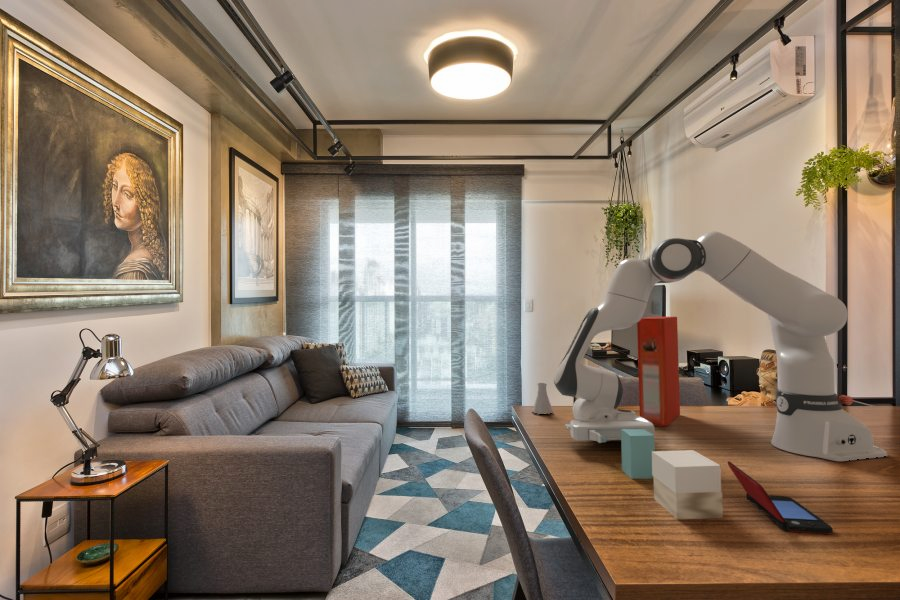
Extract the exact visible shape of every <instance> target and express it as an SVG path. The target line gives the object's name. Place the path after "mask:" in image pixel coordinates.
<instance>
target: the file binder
mask: <svg viewBox="0 0 900 600" xmlns="http://www.w3.org/2000/svg"><path fill="white" fill-rule="evenodd" d="M636 333H637V334H636V335H637V339H636V340H637V366H638V367H637V368H638V399H639V403H638V404H639V416H641V417H643V418H645V419H646V420H648V421H650V422H651V423H652V424H653V425H654V426H658V427H666V428H667V427H668V426H669V425H670V424H672V423H673V422H674V421H675V420H676V419H677V418H678V417H679V416H680V415H681V405H680V404H681V399H680V370H679V369H680V368H679V367H680V364H679V361H680V360H679V333H678V316H649V317H642V319H641V320H640V321H639V322H638V323H637V324H636Z"/></svg>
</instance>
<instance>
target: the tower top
mask: <svg viewBox="0 0 900 600" xmlns="http://www.w3.org/2000/svg"><path fill="white" fill-rule="evenodd" d="M721 468H722V467H721V464H718V463H717V462H716V461H713V460H711V459H710V458H708V457H706V456H705V455H703V454H701V453H699V452H697V451H695V450H693V449H688V450H687V449H686V450H660V451H659V450H657V451H655V450H654V451H652V476H654V477H655V478H656V479H658V480H659V481H660V482H662V483H663V484H664V485H665V486H667V487H668V488H669V489H671V490H672V491H673V492H674V493H702V492H722V471H721V470H722V469H721Z"/></svg>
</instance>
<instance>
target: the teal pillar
mask: <svg viewBox="0 0 900 600" xmlns="http://www.w3.org/2000/svg"><path fill="white" fill-rule="evenodd" d="M620 442H621V445H620V446H621V447H620V448H621V471H622V472H623V473H625V475H626V476H628V477H629V478H630V479H633V480H634V479H644V480H645V479H654V476H652V451H655V436H654V435H653V434H651V433H650V432H648V431H646V430H645V429H621V440H620Z"/></svg>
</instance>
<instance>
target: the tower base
mask: <svg viewBox="0 0 900 600" xmlns="http://www.w3.org/2000/svg"><path fill="white" fill-rule="evenodd" d="M653 499H654V500H655V501H656V502H657V503H658V504H659V505H660V506H662V507H663V508H664V509H665V510H666V511H667V512H668V513H669V514H670V515H671V516H673V517H674V519H676V520H688V519H689V520H691V519H693V520H694V519H696V520H697V519H723V518H724V517H723V516H724V513H723V512H724V509H723V492H722V491H721V492H702V493H674V492H673V491H672V490H671V489H669V488H668V487H667V486H665V485H664V484H663V483H662V482H660V481H659V480H658V479H656V478H655V477H654V478H653Z"/></svg>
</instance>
